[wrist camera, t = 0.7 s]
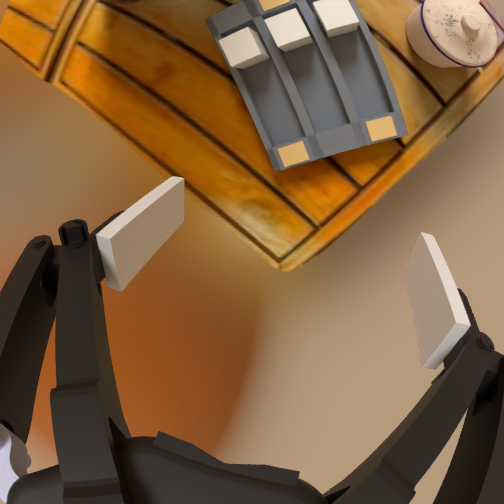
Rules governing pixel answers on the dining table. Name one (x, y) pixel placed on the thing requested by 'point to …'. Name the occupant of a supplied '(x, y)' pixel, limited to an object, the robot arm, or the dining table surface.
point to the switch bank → (312, 86)
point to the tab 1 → (244, 48)
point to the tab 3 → (336, 17)
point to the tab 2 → (288, 30)
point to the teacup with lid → (452, 33)
